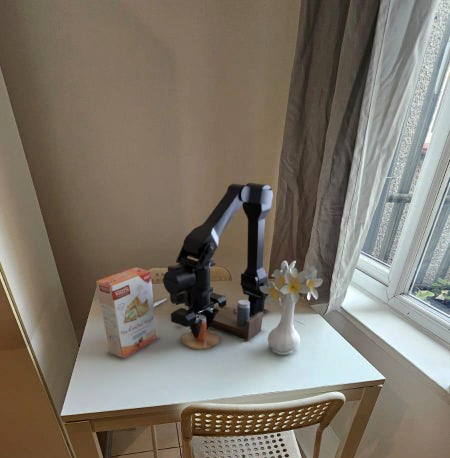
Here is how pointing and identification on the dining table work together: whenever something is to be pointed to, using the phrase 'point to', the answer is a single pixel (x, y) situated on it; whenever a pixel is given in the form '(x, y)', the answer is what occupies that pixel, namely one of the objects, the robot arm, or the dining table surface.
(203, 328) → the terracotta shaker
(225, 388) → the dining table surface
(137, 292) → the cracker box
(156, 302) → the butter knife
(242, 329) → the spice shelf
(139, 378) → the dining table surface
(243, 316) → the cylinder
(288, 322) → the flower vase
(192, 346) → the cork trivet
